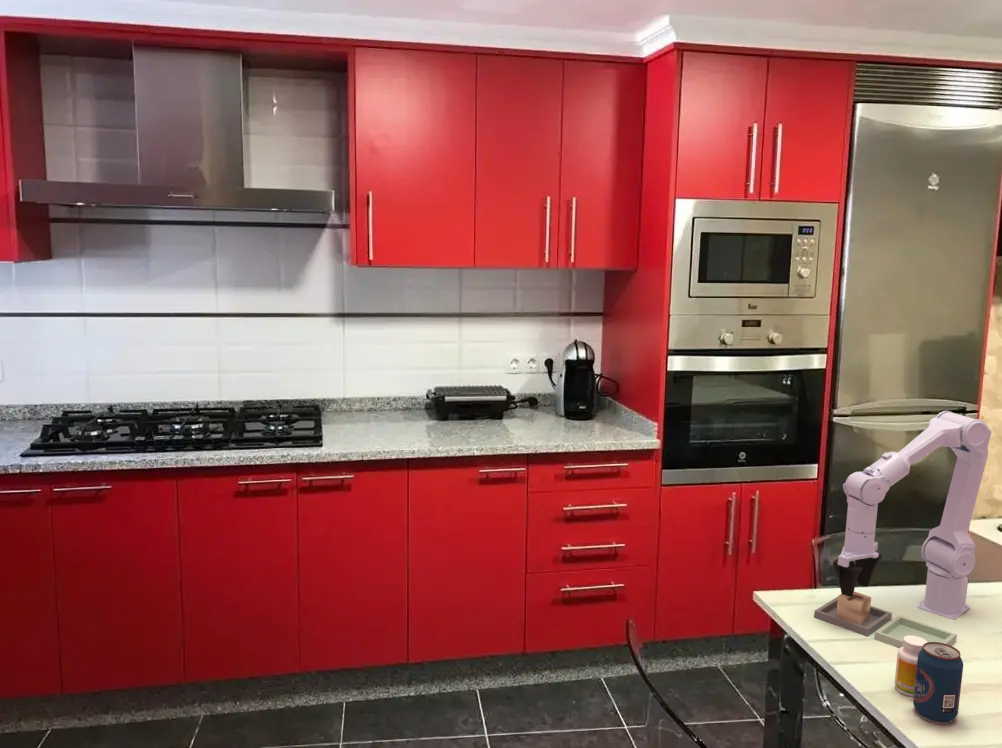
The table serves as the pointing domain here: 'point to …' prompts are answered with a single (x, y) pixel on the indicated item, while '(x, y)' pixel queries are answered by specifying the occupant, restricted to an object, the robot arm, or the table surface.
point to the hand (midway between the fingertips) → (854, 590)
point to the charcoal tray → (866, 629)
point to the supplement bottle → (908, 664)
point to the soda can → (938, 682)
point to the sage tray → (912, 632)
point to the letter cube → (854, 607)
